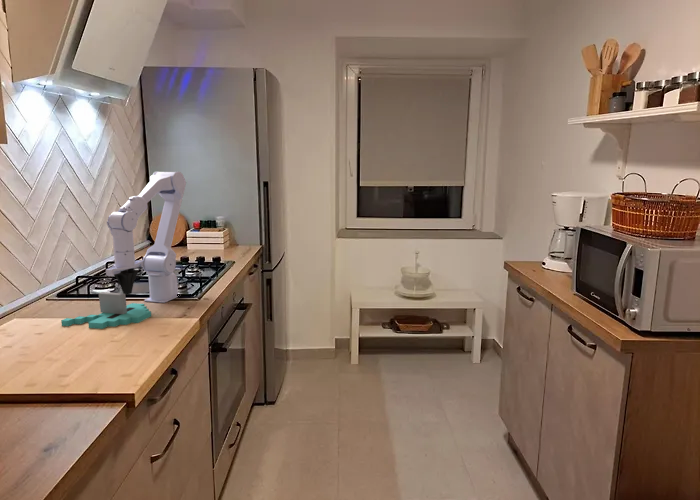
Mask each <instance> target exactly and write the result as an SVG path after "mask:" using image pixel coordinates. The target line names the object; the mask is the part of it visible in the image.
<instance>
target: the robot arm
mask: <svg viewBox="0 0 700 500" xmlns="http://www.w3.org/2000/svg"><path fill="white" fill-rule="evenodd" d="M186 184H187V182H186V179H185V176H184V175H183V173H182V172H181V171H158V170H157V171H154V172H153V173H152V175H150V176H149V182H148V183H147V184H146V185H145V186H144V188H143V189H142V191H141V192H140V193H139V194H138V195H133V196H129V198H128V200H127V201H126V202H125V203H124V204H123V205H122V206H120V207H119V209H118V211H113V212H112V213H111V214H109V216H108V217H107V221H106V225H107V228H109V230H110V235H111V236H112V243H113V244H112V245H113V246H112V247H113V256H114V263H113V264H112V266H111V267H109V268H106V269H105V276H108V277H113V276H114V278H115V279H116V281H117V282H118V283H119V286H120V289H121V290H122V293H124V294H125V295H131V294H132V292H133V287H134V284H135V280H136V277H137V275H138V274H139V270H138V268H142V269H143V271H144V272H146V275H147V276H148V289H149V297H147V298H145V299H143V300H144V302H151V303H163V304H164V303H165V304H166V303H167V302H169V301H172V300H174V299H176V298H179V297H180V296H179V295H178V296H179V297H178V296H177V294H179V289H178V286H179V285H178V276H177V275H176V274H175V273H174V271H175V270H176V265H177V261H176V258H177V253H176V252H175V251H174V249H173V248H172V244H173V240H174V235H175V232H176V227H177V222H178V219H179V215H180V212H181V211H180V210H181V206H182V201H183V197H184V194H185V193H184V192H185V190H186ZM157 195H159V196H160V197H161V198H162V199H163V200H164V204H163V208H162V211H161V215H160V220H159V224H158V227H157V228H158V229H157V232H156V236H155V241H154V244H153V245H151V246H150V247H149V248H147V250H146V253H145V255H144V256H143V257H142V260H135V259H136V257H135V256H136V255H135V246H134V244H135V243H134V231H133V230H135V229H136V228H137V223H138V221H139V219H140V217H141V216H142V215H143V213H145V211H146V210H147V209H148V203H149V202H150V201H151V200H152V199H154V197H156V196H157ZM136 268H137V269H136Z"/></svg>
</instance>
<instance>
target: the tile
mask: <svg viewBox="0 0 700 500" xmlns="http://www.w3.org/2000/svg"><path fill="white" fill-rule="evenodd" d="M98 299H99V300H98V301H99V308H100V313H114V314H125V313H127V297H126V294H124V293H123V292H108V291H101V292H99V293H98Z"/></svg>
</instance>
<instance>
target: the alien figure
mask: <svg viewBox="0 0 700 500" xmlns="http://www.w3.org/2000/svg"><path fill="white" fill-rule="evenodd" d="M126 306H127V313H125V314H114V313H102V312H100V313H99V314H89V315H87V316H80V315H79V316H76V317H71V318H69V317H66V318H64V319H62V320H61V322H60V323H61V326H62V327H70V326H73V325H83V324H86V323H88V328H89V329H99V330H104V329H105V328H107V327H110V328H114V327H115V328H116V327H118V326H119V325H123V326H127V325H130V324H131V323H133V324H139V323H140V322H143V321H145V320H146V319H149V318H150V317H151V318H152V311H151V310H150V309H149V308H147V306H146V305H145V303H134V302H133V303H132V302H131V303H130V304H126ZM72 324H73V325H72Z"/></svg>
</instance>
